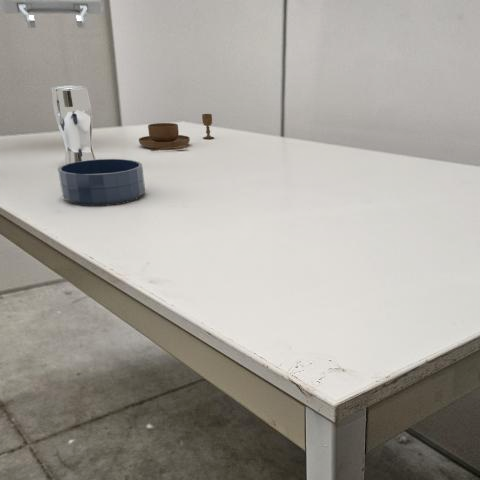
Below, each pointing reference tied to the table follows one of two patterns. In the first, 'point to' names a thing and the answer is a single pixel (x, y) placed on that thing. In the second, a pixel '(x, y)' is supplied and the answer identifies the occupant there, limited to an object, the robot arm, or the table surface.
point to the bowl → (101, 181)
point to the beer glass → (74, 121)
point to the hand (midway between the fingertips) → (56, 25)
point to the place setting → (170, 135)
